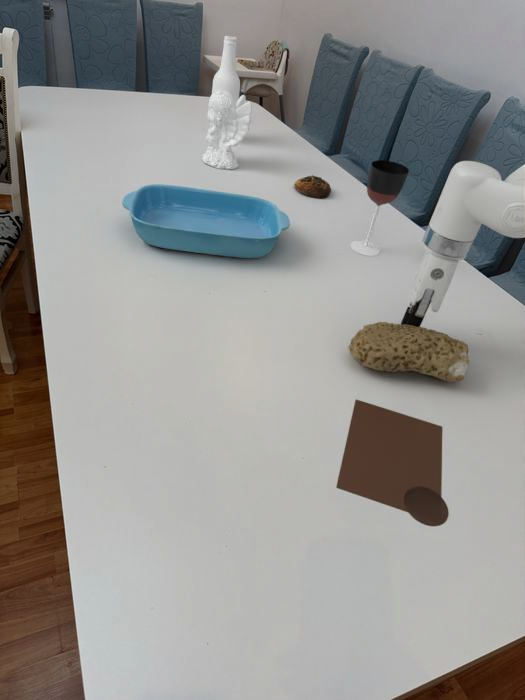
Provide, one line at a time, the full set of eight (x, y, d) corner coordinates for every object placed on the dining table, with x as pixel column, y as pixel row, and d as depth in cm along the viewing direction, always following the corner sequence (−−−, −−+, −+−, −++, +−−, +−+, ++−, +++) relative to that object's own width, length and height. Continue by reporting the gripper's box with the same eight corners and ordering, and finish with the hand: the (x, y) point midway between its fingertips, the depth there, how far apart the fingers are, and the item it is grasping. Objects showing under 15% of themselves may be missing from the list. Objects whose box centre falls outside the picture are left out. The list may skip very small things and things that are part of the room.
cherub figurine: (199, 152, 156) (204, 82, 144) (238, 155, 159) (246, 87, 147) (203, 168, 147) (209, 94, 134) (245, 171, 149) (254, 99, 137)
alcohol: (204, 138, 167) (211, 35, 148) (214, 132, 174) (222, 32, 155) (228, 144, 166) (239, 41, 147) (237, 138, 173) (249, 38, 154)
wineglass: (388, 253, 121) (416, 172, 109) (361, 258, 117) (387, 175, 105) (368, 238, 126) (392, 159, 114) (341, 242, 122) (363, 161, 110)
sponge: (451, 361, 93) (356, 314, 93) (477, 337, 87) (375, 286, 87) (443, 415, 85) (339, 363, 85) (470, 393, 79) (358, 337, 79)
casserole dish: (281, 224, 125) (286, 197, 121) (288, 270, 108) (295, 241, 103) (131, 207, 120) (131, 178, 116) (115, 252, 103) (113, 220, 99)
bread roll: (321, 201, 140) (323, 183, 137) (286, 193, 144) (288, 176, 141) (337, 192, 148) (339, 175, 145) (304, 185, 152) (305, 169, 149)
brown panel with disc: (355, 399, 80) (355, 399, 80) (448, 428, 78) (448, 428, 78) (334, 493, 65) (335, 493, 65) (448, 532, 63) (448, 532, 63)
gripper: (471, 268, 75) (426, 358, 87) (469, 229, 87) (429, 313, 98) (422, 254, 76) (384, 344, 88) (426, 217, 88) (393, 302, 99)
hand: (408, 328), depth 93 cm, fingers closed
